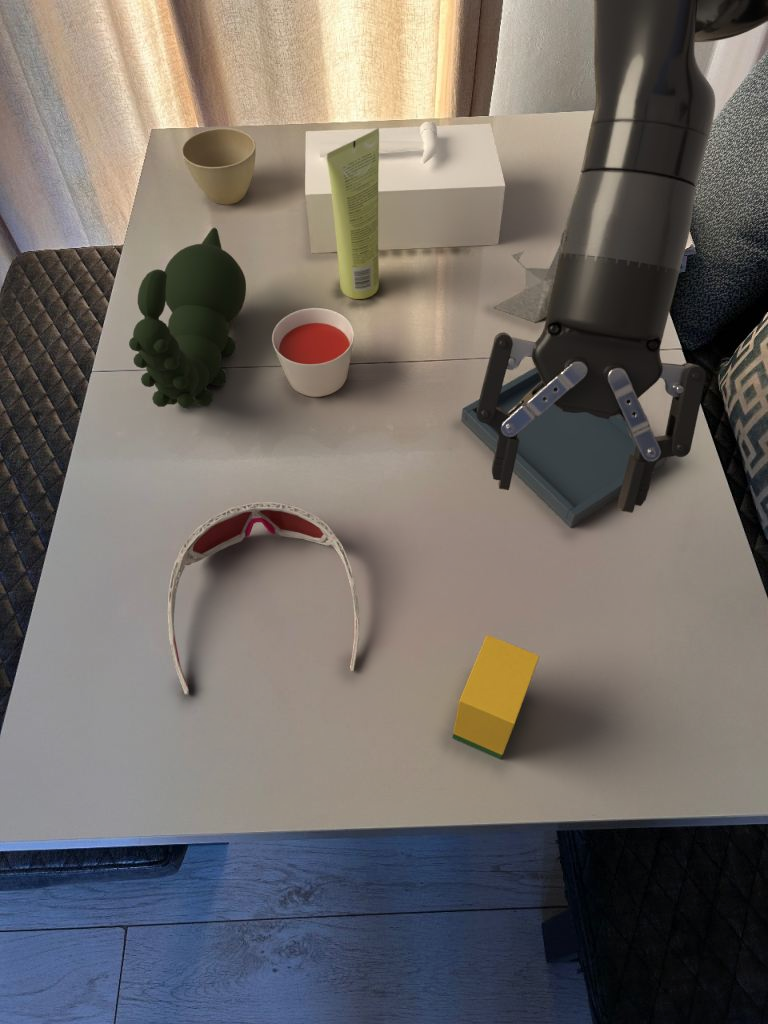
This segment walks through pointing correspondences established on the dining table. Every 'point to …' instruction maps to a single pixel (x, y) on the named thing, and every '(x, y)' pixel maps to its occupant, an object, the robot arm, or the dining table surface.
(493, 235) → the tissue box
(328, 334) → the white round cup
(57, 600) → the dining table surface
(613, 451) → the tray
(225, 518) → the sunglasses
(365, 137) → the tube
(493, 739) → the sponge
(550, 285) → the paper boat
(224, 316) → the toy figurine
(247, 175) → the flower pot
